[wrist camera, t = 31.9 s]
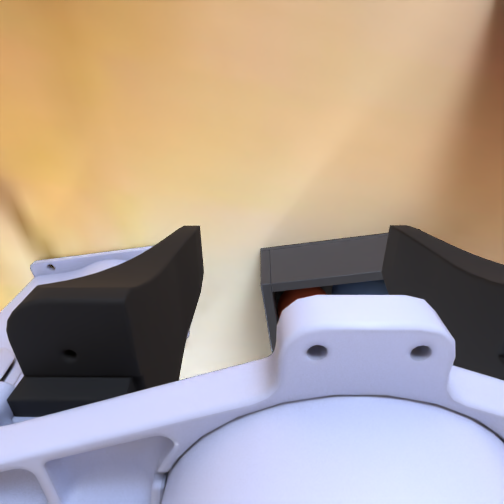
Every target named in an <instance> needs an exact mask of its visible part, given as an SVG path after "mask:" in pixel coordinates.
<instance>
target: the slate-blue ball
mask: <svg viewBox="0 0 504 504" xmlns="http://www.w3.org/2000/svg"><path fill="white" fill-rule="evenodd" d="M331 295H389V293H388V291H387V288H386V285H385V282H384V280H375V281H366V282H357V283H348V284H339V285H333V287H332V292H331Z"/></svg>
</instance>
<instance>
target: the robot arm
mask: <svg viewBox="0 0 504 504" xmlns="http://www.w3.org/2000/svg"><path fill="white" fill-rule="evenodd" d="M50 264H51V265H53V266H54V267H55V268H53V267H51V266H50ZM30 269H31V271H32V273H33V275H34V278H33V279H32V280H31V281H30V282H29V283H28V284H27V285H26V286H25V288H24V289H23V290H22V291H21V292H20V293H19V294H18V295H17V296H16V297H15V298H14V299H13V300H12V301H11V302H10V303H9V304H8V305H7V306H6V307H5V308H4V309H3V310H2V311H1V312H0V504H504V265H502V264H499V263H496V262H493V261H490V260H487V259H484V258H482V257H479V256H476V255H474V254H471V253H469V252H466V251H464V250H462V249H459V248H457V247H455V246H452V245H450V244H448V243H446V242H444V241H442V240H439V239H437V238H435V237H433V236H431V235H429V234H427V233H425V232H423V231H420V230H418V229H416V228H413V227H410V226H407V225H390V228H389V234H388V239H387V244H386V250H385V255H384V260H383V266H382V271H381V272H382V276H383V279H384V282H385V285H386V288H387V291H388V293H389V295H314V296H309V297H305V298H300V299H297V300H295V301H294V302H293V303H292V304H290V305H289V306H288V307H286V308H285V309H284V310H282V313H281V316H280V318H279V321H278V324H277V335H276V346H275V350H274V351H273V353H272V354H271V355H270V356H268V357H266V358H262V359H259V360H255V361H251V362H247V363H243V364H240V365H236V366H232V367H228V368H224V369H221V370H217V371H213V372H209V373H205V374H201V375H198V376H194V377H190V378H186V379H182V380H179V375H180V369H181V364H182V358H183V353H184V347H185V343H186V339H187V338H188V337H189V334H190V331H189V328H190V325H191V322H192V319H193V316H194V312H195V309H196V306H197V303H198V299H199V296H200V293H201V287H202V281H203V274H204V269H203V257H202V246H201V234H200V226H183V227H181V228H179V229H178V230H176V231H175V232H173V233H172V234H171V235H169V236H168V237H166V238H165V239H164V240H162V241H161V242H159V243H158V244H156V245H155V246H148V247H140V248H132V249H124V250H116V251H108V252H100V253H92V254H85V255H77V256H69V257H61V258H53V259H45V260H37V261H34V262H33V263H32V264H31V265H30Z"/></svg>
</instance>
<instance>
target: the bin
mask: <svg viewBox="0 0 504 504" xmlns="http://www.w3.org/2000/svg"><path fill="white" fill-rule="evenodd" d="M418 230H420V229H418ZM420 231H421V230H420ZM388 234H389V233H383V234H375V235H366V236H358V237H350V238H342V239H334V240H326V241H318V242H309V243H301V244H293V245H285V246H277V247H269V248H261V290H262V296H263V302H264V308H265V314H266V320H267V326H268V332H269V338H270V344H271V350H272V353H273V351H274V350H275V346H276V335H277V324H278V321H279V317H278V313H277V306H278V301H279V299H280V297H281V295H282V293H283V292H284V291H286V290H295V289H303V288H312V287H320V288H321V289H323V290H324V291H325V293H326V294H327V295H331V292H332V287H333V285H339V284H348V283H357V282H366V281H375V280H384V279H383V276H382V272H381V271H382V266H383V260H384V255H385V250H386V244H387V239H388Z"/></svg>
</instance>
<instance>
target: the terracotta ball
mask: <svg viewBox="0 0 504 504" xmlns="http://www.w3.org/2000/svg"><path fill="white" fill-rule="evenodd" d="M314 295H327V294H326V293H325V291H324V290H323V289H321V288H320V287H312V288H303V289H295V290H286V291H284V292H283V293H282V295H281V297H280V299H279V301H278V306H277V313H278V317H279V318H280V316H281V313H282V310H284V309H285V308H286V307H288V306H289V305H290V304H292V303H293V302H294V301H295V300H297V299H300V298H305V297H309V296H314Z"/></svg>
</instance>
